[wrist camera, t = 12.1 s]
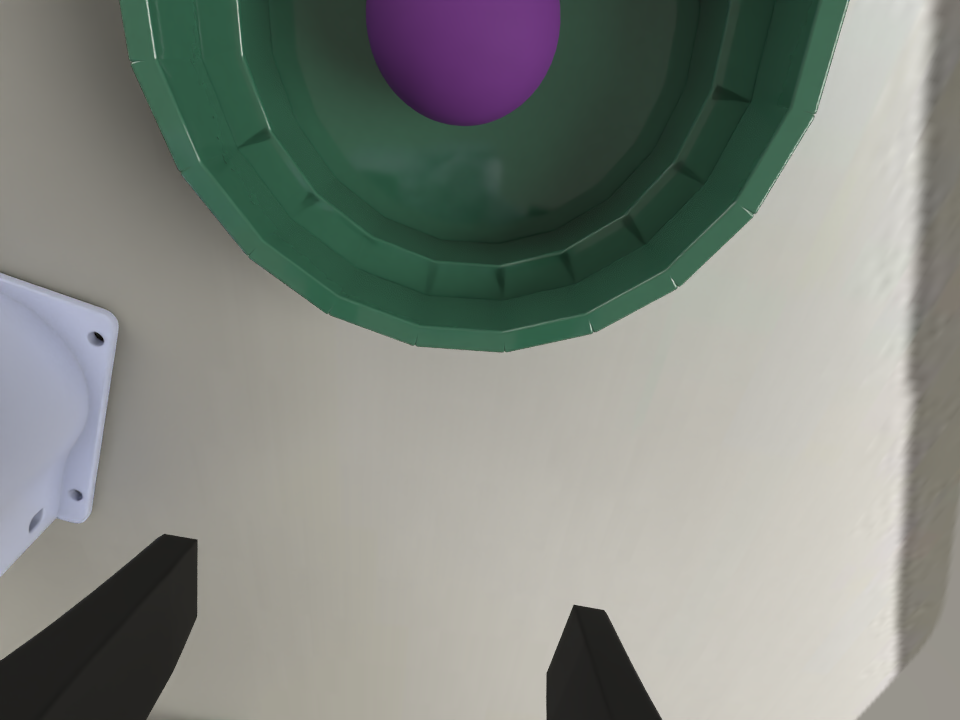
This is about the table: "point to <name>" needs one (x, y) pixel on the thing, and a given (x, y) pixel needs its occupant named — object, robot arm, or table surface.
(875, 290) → the table surface
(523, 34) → the ball
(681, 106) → the bowl
